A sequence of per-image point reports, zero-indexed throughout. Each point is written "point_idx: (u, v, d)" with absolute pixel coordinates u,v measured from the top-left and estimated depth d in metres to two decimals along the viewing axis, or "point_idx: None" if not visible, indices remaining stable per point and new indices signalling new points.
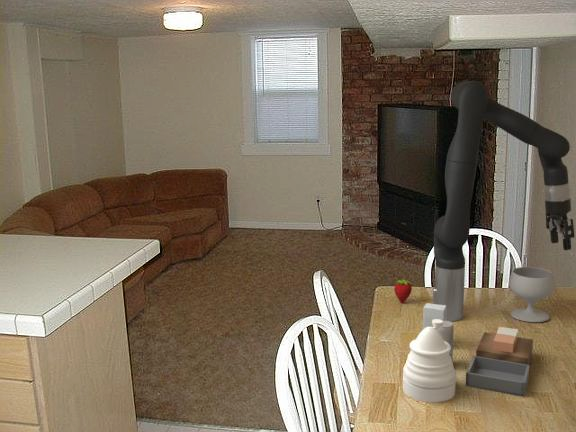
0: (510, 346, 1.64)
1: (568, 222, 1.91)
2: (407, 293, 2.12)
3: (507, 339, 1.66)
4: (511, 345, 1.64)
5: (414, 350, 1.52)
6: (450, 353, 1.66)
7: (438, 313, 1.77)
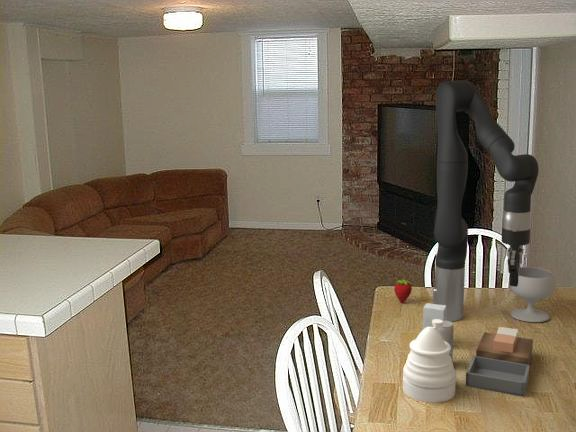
0: (510, 346, 1.64)
1: (511, 263, 1.70)
2: (407, 293, 2.12)
3: (507, 339, 1.66)
4: (511, 345, 1.64)
5: (414, 350, 1.52)
6: (450, 353, 1.66)
7: (438, 313, 1.77)
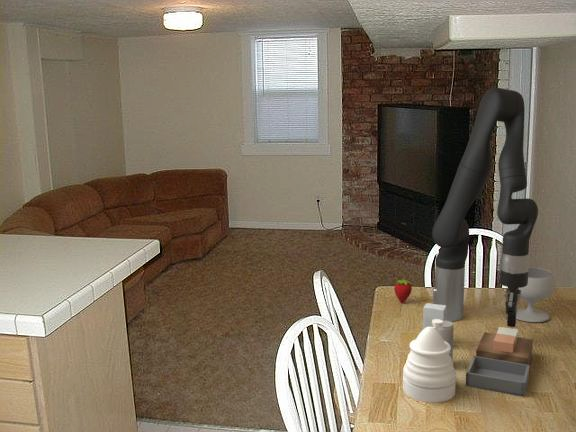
0: (510, 346, 1.64)
1: (509, 305, 1.73)
2: (407, 293, 2.12)
3: (507, 339, 1.66)
4: (511, 345, 1.64)
5: (414, 350, 1.52)
6: (450, 353, 1.66)
7: (438, 313, 1.77)
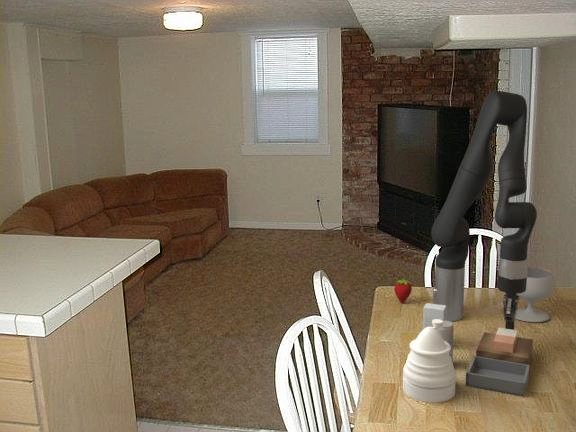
0: (510, 346, 1.64)
1: (507, 311, 1.68)
2: (407, 293, 2.12)
3: (507, 339, 1.66)
4: (511, 345, 1.64)
5: (414, 350, 1.52)
6: (450, 353, 1.66)
7: (438, 313, 1.77)
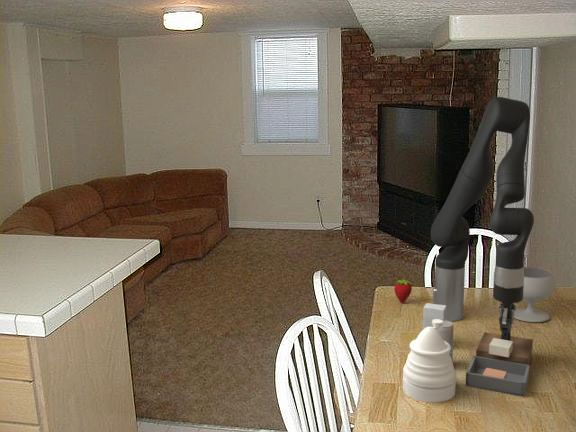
0: None
1: (502, 322, 1.61)
2: (407, 293, 2.12)
3: None
4: None
5: (414, 350, 1.52)
6: (450, 353, 1.66)
7: (438, 313, 1.77)
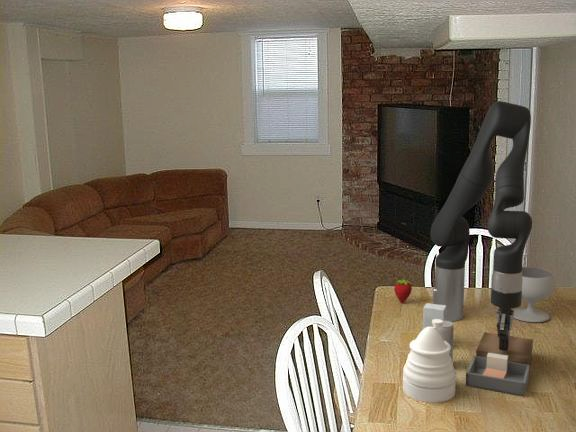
0: None
1: (500, 328, 1.57)
2: (407, 293, 2.12)
3: None
4: None
5: (414, 350, 1.52)
6: (450, 353, 1.66)
7: (438, 313, 1.77)
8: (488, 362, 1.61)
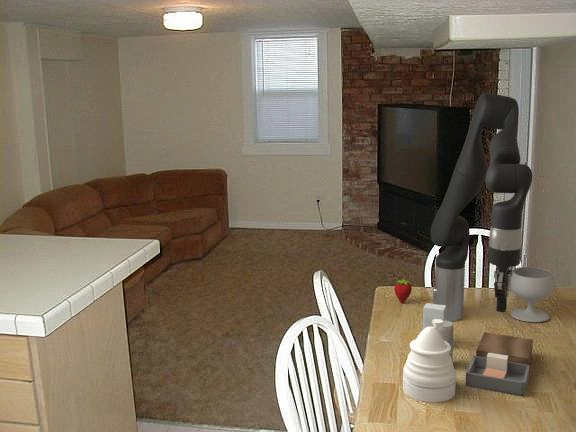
0: None
1: (498, 287, 1.50)
2: (407, 293, 2.12)
3: None
4: None
5: (414, 350, 1.52)
6: (450, 353, 1.66)
7: (438, 313, 1.77)
8: (488, 362, 1.61)
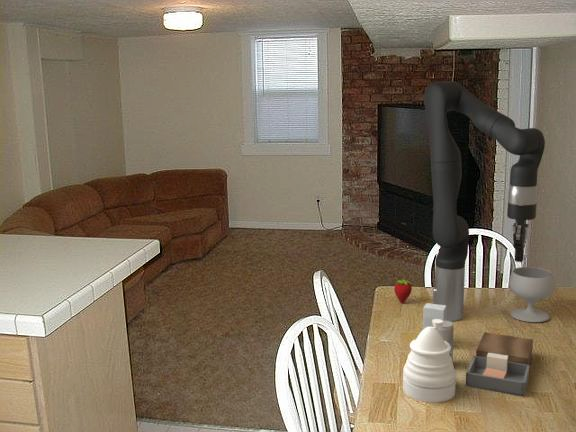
0: None
1: (516, 237, 1.69)
2: (407, 293, 2.12)
3: None
4: None
5: (414, 350, 1.52)
6: (450, 353, 1.66)
7: (438, 313, 1.77)
8: (488, 362, 1.61)
